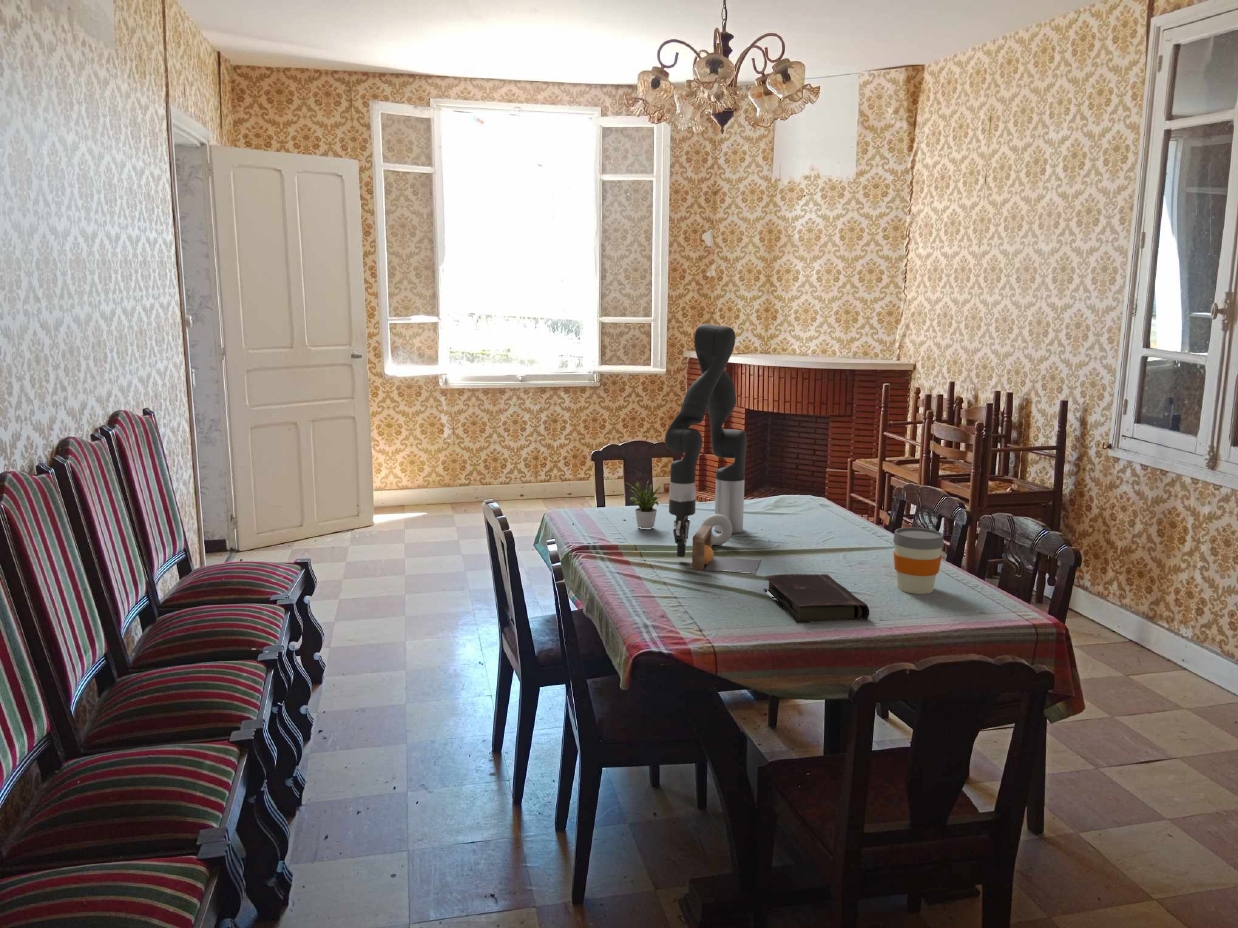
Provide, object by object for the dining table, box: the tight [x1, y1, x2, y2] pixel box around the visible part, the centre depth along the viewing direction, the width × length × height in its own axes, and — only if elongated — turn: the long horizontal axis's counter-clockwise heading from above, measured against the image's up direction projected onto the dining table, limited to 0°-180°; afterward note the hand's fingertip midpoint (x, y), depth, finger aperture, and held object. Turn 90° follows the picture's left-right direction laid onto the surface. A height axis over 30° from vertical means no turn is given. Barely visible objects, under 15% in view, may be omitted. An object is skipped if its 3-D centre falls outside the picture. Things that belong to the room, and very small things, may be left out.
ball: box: [704, 545, 715, 565], centre depth 265 cm, size 6×6×6 cm
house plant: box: [626, 479, 666, 528], centre depth 305 cm, size 14×14×16 cm
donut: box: [700, 513, 733, 546], centre depth 285 cm, size 10×4×10 cm, turn 99°
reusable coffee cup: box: [892, 527, 945, 595], centre depth 243 cm, size 13×13×15 cm
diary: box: [763, 573, 870, 624], centre depth 231 cm, size 19×25×5 cm
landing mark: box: [704, 555, 762, 574], centre depth 264 cm, size 14×14×1 cm
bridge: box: [691, 526, 713, 571], centre depth 266 cm, size 3×14×9 cm, turn 165°
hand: (681, 556), depth 268 cm, fingers closed
